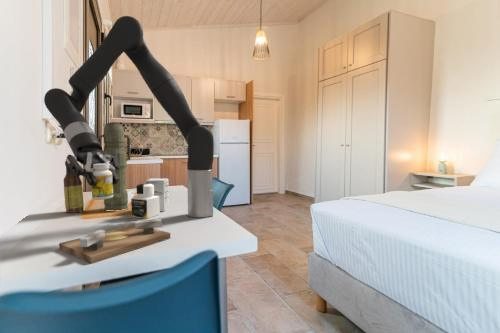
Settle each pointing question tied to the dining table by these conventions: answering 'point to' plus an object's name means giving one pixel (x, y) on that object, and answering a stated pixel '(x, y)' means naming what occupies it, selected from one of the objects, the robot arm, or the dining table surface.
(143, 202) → the medicine bottle
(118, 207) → the thermos
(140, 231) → the shaft board
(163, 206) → the supplement box
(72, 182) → the sauce bottle
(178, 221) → the dining table surface
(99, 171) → the supplement bottle
